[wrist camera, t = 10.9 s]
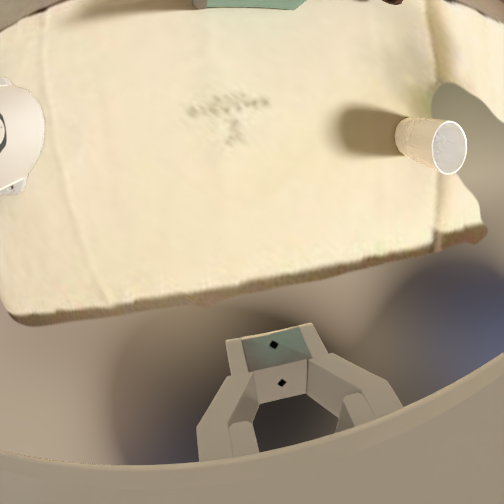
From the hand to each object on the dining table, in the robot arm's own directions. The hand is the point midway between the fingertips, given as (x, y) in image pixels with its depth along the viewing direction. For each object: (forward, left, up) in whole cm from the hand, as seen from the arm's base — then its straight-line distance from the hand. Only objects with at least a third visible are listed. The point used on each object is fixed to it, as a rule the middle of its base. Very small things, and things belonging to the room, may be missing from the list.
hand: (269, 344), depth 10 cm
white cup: (+32, +2, -34) cm, 47 cm away
